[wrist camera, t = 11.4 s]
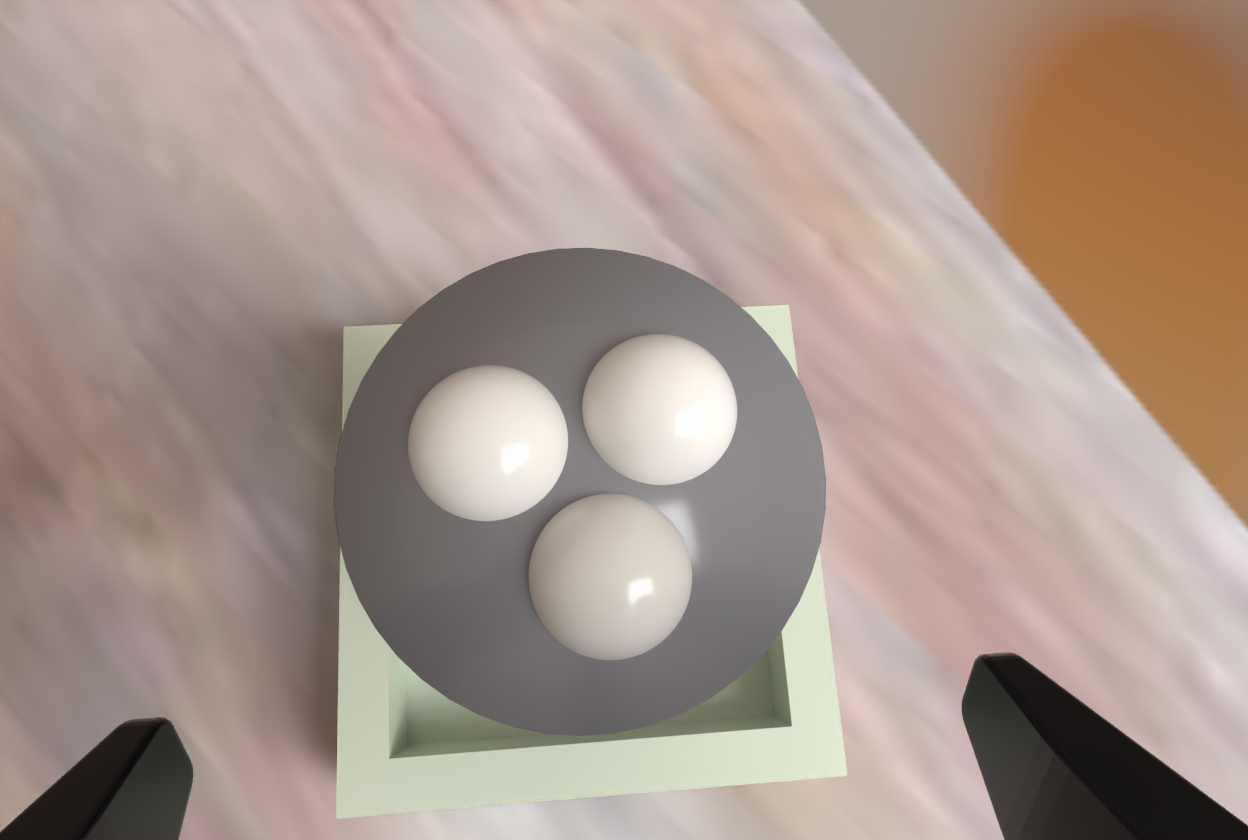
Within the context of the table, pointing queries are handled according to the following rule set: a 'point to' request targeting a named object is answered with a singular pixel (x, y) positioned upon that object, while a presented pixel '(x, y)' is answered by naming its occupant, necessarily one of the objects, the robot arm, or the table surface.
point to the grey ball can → (580, 491)
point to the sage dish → (562, 764)
